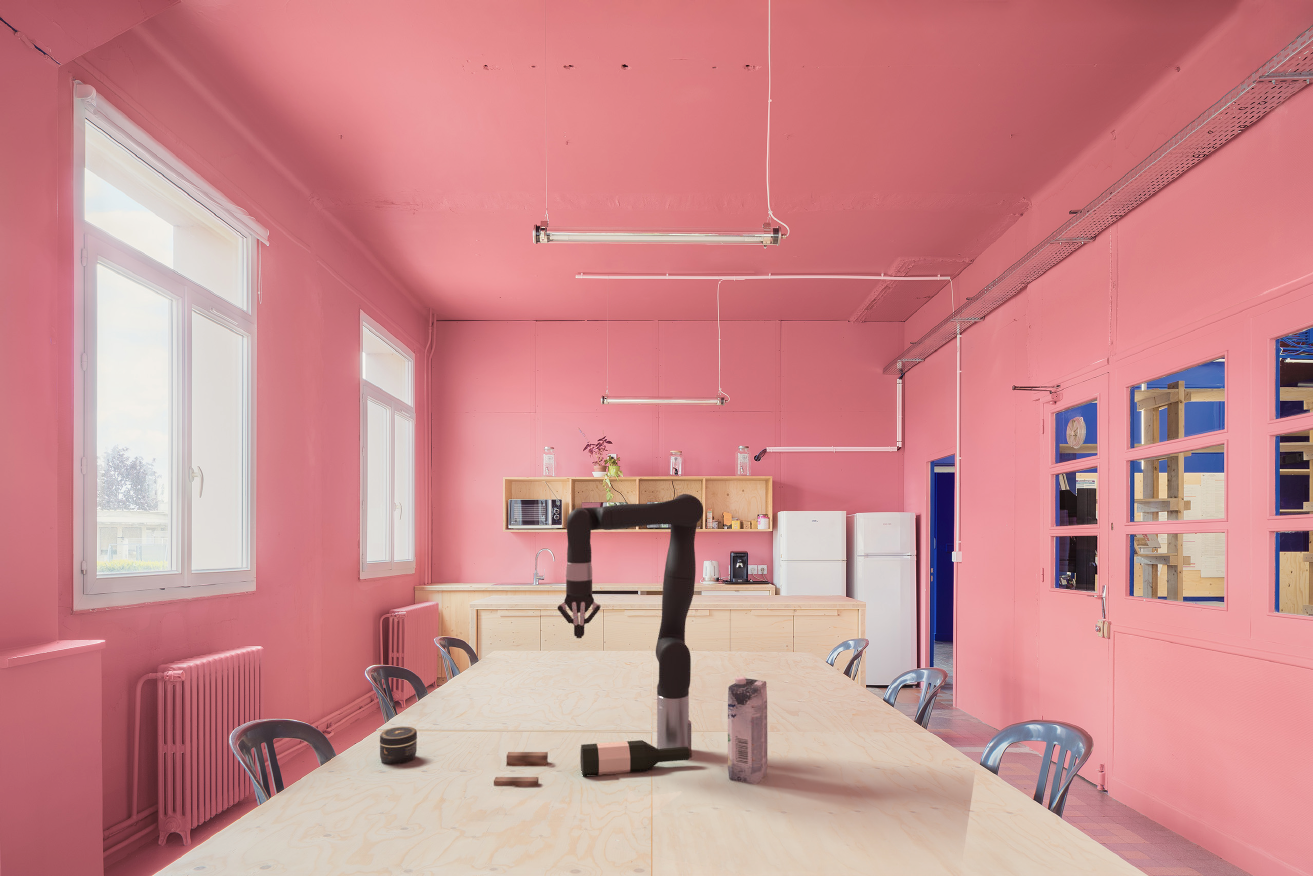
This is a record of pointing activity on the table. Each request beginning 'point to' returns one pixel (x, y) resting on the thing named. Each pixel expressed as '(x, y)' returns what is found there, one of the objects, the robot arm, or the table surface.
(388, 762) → the jar
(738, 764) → the juice carton
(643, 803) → the table surface
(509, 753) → the u rest
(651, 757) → the wine bottle
